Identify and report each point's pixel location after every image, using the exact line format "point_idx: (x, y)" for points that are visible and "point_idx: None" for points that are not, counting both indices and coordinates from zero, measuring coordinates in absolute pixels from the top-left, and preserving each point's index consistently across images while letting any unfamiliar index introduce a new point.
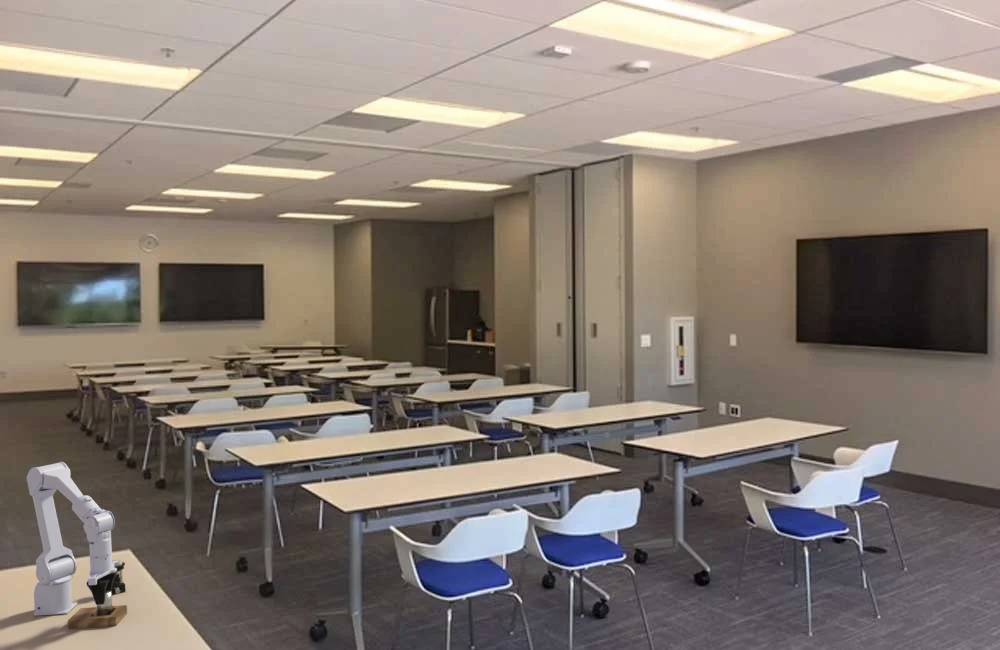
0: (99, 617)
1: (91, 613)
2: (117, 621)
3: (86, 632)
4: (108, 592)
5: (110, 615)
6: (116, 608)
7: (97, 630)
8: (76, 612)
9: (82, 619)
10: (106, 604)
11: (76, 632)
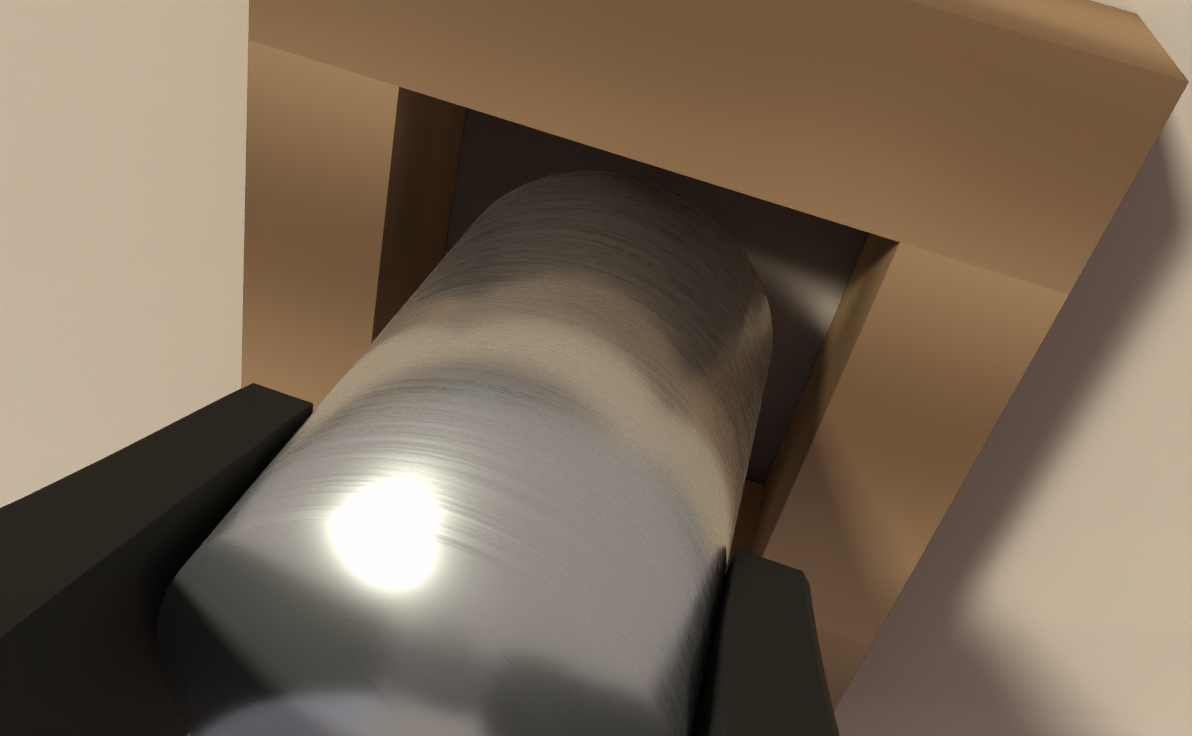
0: (924, 455)
1: None
2: (1049, 1)
3: (1131, 551)
4: (406, 620)
5: (928, 226)
6: (439, 91)
7: (1162, 388)
8: None
9: (835, 703)
10: (728, 457)
11: (1009, 666)
